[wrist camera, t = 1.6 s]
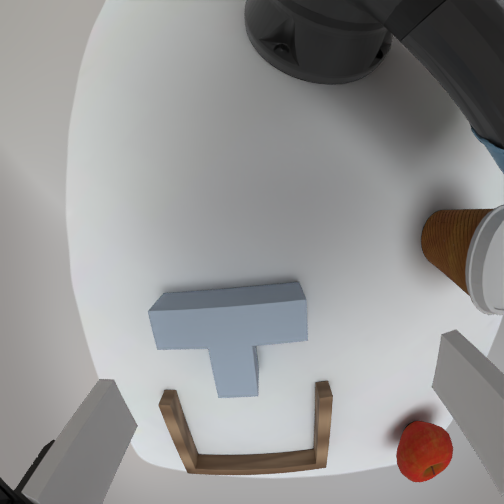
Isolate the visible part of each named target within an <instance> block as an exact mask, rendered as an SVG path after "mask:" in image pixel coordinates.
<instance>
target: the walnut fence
mask: <svg viewBox="0 0 504 504" xmlns="http://www.w3.org/2000/svg"><path fill="white" fill-rule="evenodd" d="M332 401H333V395H332V392H331V389H330V386H329V383H328V381H323V382H316V387H315V427H314V449H310V450H302V451H293V452H283V453H271V454H252V455H201V454H198V452H197V449H196V447H195V444H194V442H193V439H192V436H191V433H190V431H189V428H188V425H187V422H186V419H185V416H184V413H183V410H182V407H181V404H180V401H179V398H178V395H177V392H176V390H165V391H164V393H163V395H162V398H161V400H160V402H159V408H160V410H161V413H162V415H163V418H164V420H165V423H166V425H167V428H168V430H169V433H170V435H171V437H172V440H173V442H174V444H175V447H176V449H177V451H178V453H179V455H180V458H181V460H182V462H183V464H184V466H185V468H186V470H187V472H188V473H191V474H208V475H257V474H275V473H287V472H297V471H305V470H313V469H320V468H326V464H327V456H328V447H329V437H330V426H331V414H332Z"/></svg>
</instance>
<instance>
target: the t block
mask: <svg viewBox="0 0 504 504" xmlns="http://www.w3.org/2000/svg"><path fill="white" fill-rule="evenodd" d="M148 314H149V318H150V323H151V327H152V331H153V335H154V339H155V342H156V346H157V350H168V349H208V350H209V355H210V360H211V365H212V370H213V375H214V380H215V384H216V389H217V393H218V398H230V397H251V396H258V380H259V368H258V359H257V351H256V346H258V345H269V344H280V343H290V342H299V341H308V328H307V303H306V297H305V295H304V293H303V290H302V288H301V285H300V283H299V282H291V283H281V284H271V285H261V286H250V287H238V288H226V289H214V290H201V291H188V292H173V293H163V295H162V296H161V297H160V298H159V299H158V300H157V301H156V303H155V304H154V305H153V306H152V307H151V308H150V309H149V311H148Z"/></svg>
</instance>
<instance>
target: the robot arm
mask: <svg viewBox="0 0 504 504" xmlns="http://www.w3.org/2000/svg"><path fill="white" fill-rule="evenodd" d="M245 25H246V31H247V34H248V37H249V39H250V41H251V43H252V44H253V46H254V48H255V49H256V50H257V51H258V53H259V54H260V55H261V56H262V57H263V58H264V59H265V60H266V61H268V62H269V63H270V64H271V65H273V66H274V67H276V68H277V69H279V70H281V71H283V72H284V73H286V74H289V75H291V76H293V77H296V78H298V79H301V80H305V81H309V82H314V83H320V84H342V83H348V82H352V81H355V80H358V79H360V78H362V77H364V76H366V75H367V74H369V73H370V72H371V71H373V70H374V69H375V68H376V67H377V66H378V65H379V64H380V63H381V62H382V61H383V60H384V58H385V57H386V55H387V53H388V51H389V49H390V46H391V42H392V37H393V35H394V36H395V37H396V38H397V39H398V40H399V41H401V43H402V44H403V45H404V46H405V47H406V48H407V49H408V50H409V51H410V52H411V53H412V54H413V55H414V56H415V57H416V58H417V59H418V60H419V61H420V62H421V63H422V64H423V65H424V66H425V67H426V68H427V69H428V70H429V72H430V73H431V74H432V75H433V76H434V77H435V78H436V79H437V81H438V82H439V83H440V84H441V85H442V87H443V88H444V89H445V90H446V92H447V93H448V94H449V95H450V97H451V98H452V99H453V100H454V102H455V103H456V104H457V106H458V107H459V108H460V110H461V111H462V113H463V114H464V115H465V117H466V118H467V120H468V121H469V123H470V125H471V130H472V132H473V133H474V135H475V136H476V138H477V139H478V140H479V141H480V142H481V143H483V144H484V145H485V147H486V148H487V149H488V151H489V152H490V154H491V155H492V157H493V159H494V160H495V162H496V163H497V165H498V166H499V168H500V170H501V171H502V172H503V174H504V0H247V1H246V5H245ZM432 388H433V389H434V391H435V392H436V393H437V395H438V396H439V398H440V399H441V401H442V402H443V404H444V405H445V406H446V408H447V409H448V411H449V412H450V414H451V415H452V417H453V418H454V420H455V421H456V423H457V424H458V426H459V427H460V429H461V430H462V432H463V433H464V435H465V436H466V438H467V439H468V441H469V443H470V444H471V446H472V447H473V449H474V451H475V452H476V454H477V455H478V457H479V459H480V460H481V462H482V463H483V465H484V467H485V468H486V470H487V472H488V474H489V475H490V477H491V479H492V480H493V482H494V484H495V486H496V487H497V489H498V491H499V492H500V495H501V496H503V495H504V374H503V373H502V372H501V371H500V370H499V369H498V368H497V367H496V366H495V365H494V364H493V363H491V361H490V360H488V358H486V357H485V356H484V355H483V354H482V353H481V352H480V351H479V350H478V349H477V348H476V347H475V346H474V345H473V344H471V343H470V342H469V341H468V340H467V339H466V338H465V337H464V336H463V335H462V334H460V333H459V332H458V331H457V330H453V331H450V332H447V333H444V334H441V341H440V347H439V354H438V359H437V365H436V370H435V375H434V380H433V384H432ZM137 426H138V425H137V423H136V422H135V420H134V418H133V416H132V414H131V413H130V411H129V409H128V407H127V405H126V403H125V401H124V399H123V397H122V395H121V393H120V391H119V389H118V387H117V385H116V383H115V381H114V380H111V379H99V381H98V382H97V383H96V385H95V386H94V387H93V389H92V390H91V391H90V393H89V394H88V396H87V397H86V398H85V400H84V401H83V402H82V404H81V405H80V406H79V408H78V409H77V411H76V412H75V413H74V415H73V416H72V418H71V419H70V420H69V422H68V423H67V425H66V426H65V427H64V429H63V430H62V432H61V433H60V435H59V436H58V438H57V439H56V440H52V441H51V442H50V443H48V444H47V445H46V446H44V448H43V449H42V451H41V452H40V453H39V455H38V458H36V459H35V461H34V462H33V465H31V467H30V468H29V469H28V471H27V472H26V474H25V476H24V477H23V478H22V480H21V481H20V483H19V485H18V486H17V487H16V489H15V490H14V491H13V490H12V489H11V488H10V487H9V486H8V485H7V484H6V483H5V482H4V481H3V480H2V479H1V478H0V504H102V503H103V501H104V498H105V496H106V494H107V492H108V489H109V487H110V485H111V483H112V480H113V478H114V476H115V474H116V472H117V469H118V467H119V465H120V463H121V461H122V458H123V456H124V454H125V452H126V449H127V448H128V445H129V443H130V441H131V439H132V437H133V435H134V432H135V430H136V428H137Z"/></svg>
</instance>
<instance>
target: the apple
mask: <svg viewBox="0 0 504 504" xmlns="http://www.w3.org/2000/svg"><path fill="white" fill-rule="evenodd" d="M452 454H453V446H452V442H451V440H450V436H449V434H448V433H447V432H446V431H445V430H444V429H443V428H442V427H439V426H437V425H434V424H431V423H426V422H421V421H414V422H412V423H411V424H409V425H408V426H407V427H406V428H405V429H404V431H403V433H402V436H401V439H400V442H399V445H398V448H397V455H396V457H397V465H398V467H399V469H400V471H401V473H402V474H403V475H404V476H405V477H407V478H408V479H409V480H411V481H413V482H423V481H427V480H429V479H432V478H433V477H435V476H436V475H437V474H439V473H440V472H442V471H443V470H444V469H445V468H446V467H447V466H448V465H449V463H450V461H451V459H452Z"/></svg>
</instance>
